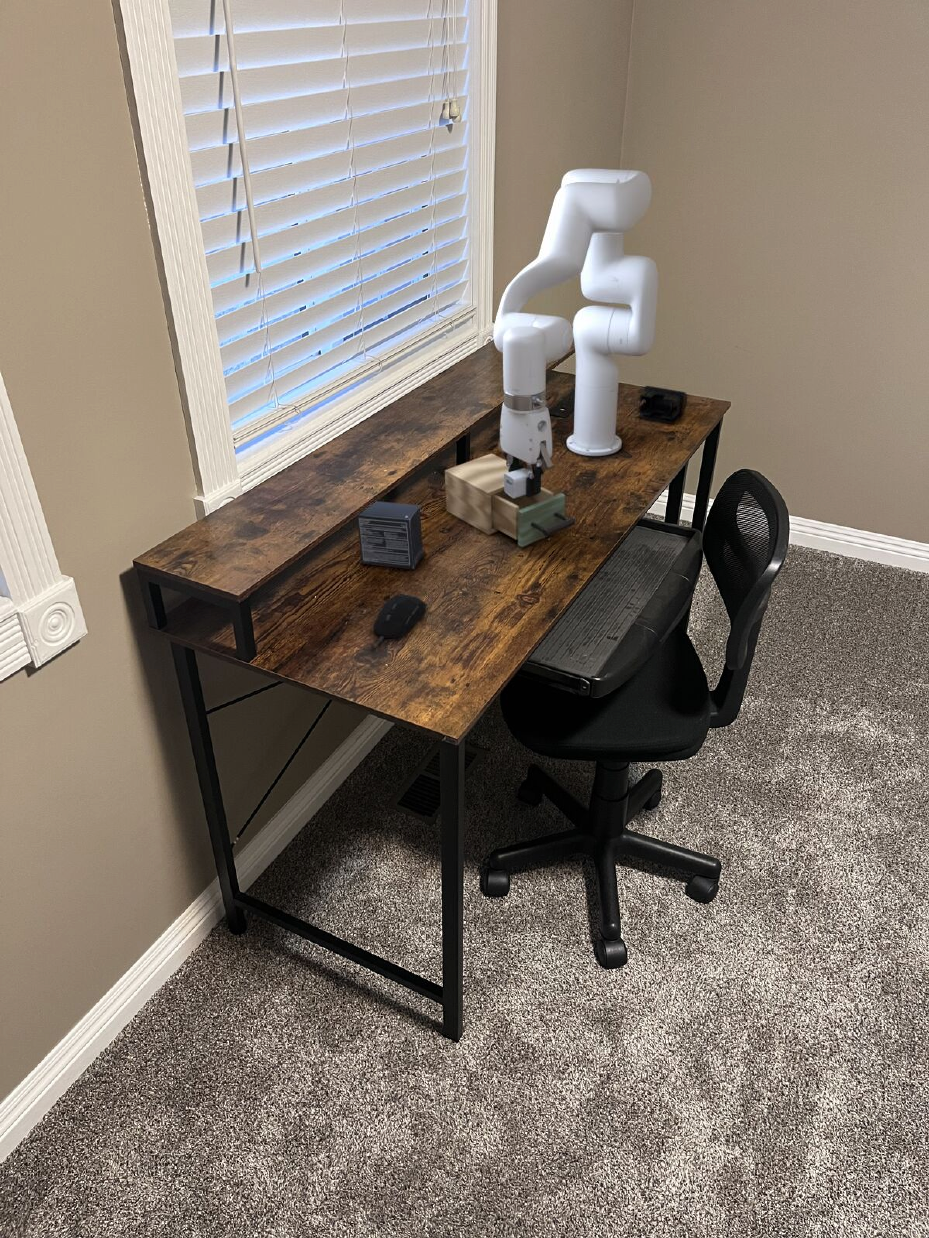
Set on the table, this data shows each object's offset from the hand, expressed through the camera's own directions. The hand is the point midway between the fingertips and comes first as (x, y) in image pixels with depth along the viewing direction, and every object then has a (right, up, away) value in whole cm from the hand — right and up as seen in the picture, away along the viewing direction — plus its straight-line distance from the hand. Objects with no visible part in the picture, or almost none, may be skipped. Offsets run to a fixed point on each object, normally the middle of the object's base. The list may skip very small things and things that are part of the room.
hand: (524, 489), depth 176 cm
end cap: (+37, +25, +51) cm, 68 cm away
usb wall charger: (0, -1, 0) cm, 1 cm away
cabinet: (-6, -3, +12) cm, 14 cm away
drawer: (+1, -8, +3) cm, 8 cm away
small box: (-25, -14, -2) cm, 29 cm away
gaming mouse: (-23, -26, -21) cm, 40 cm away
